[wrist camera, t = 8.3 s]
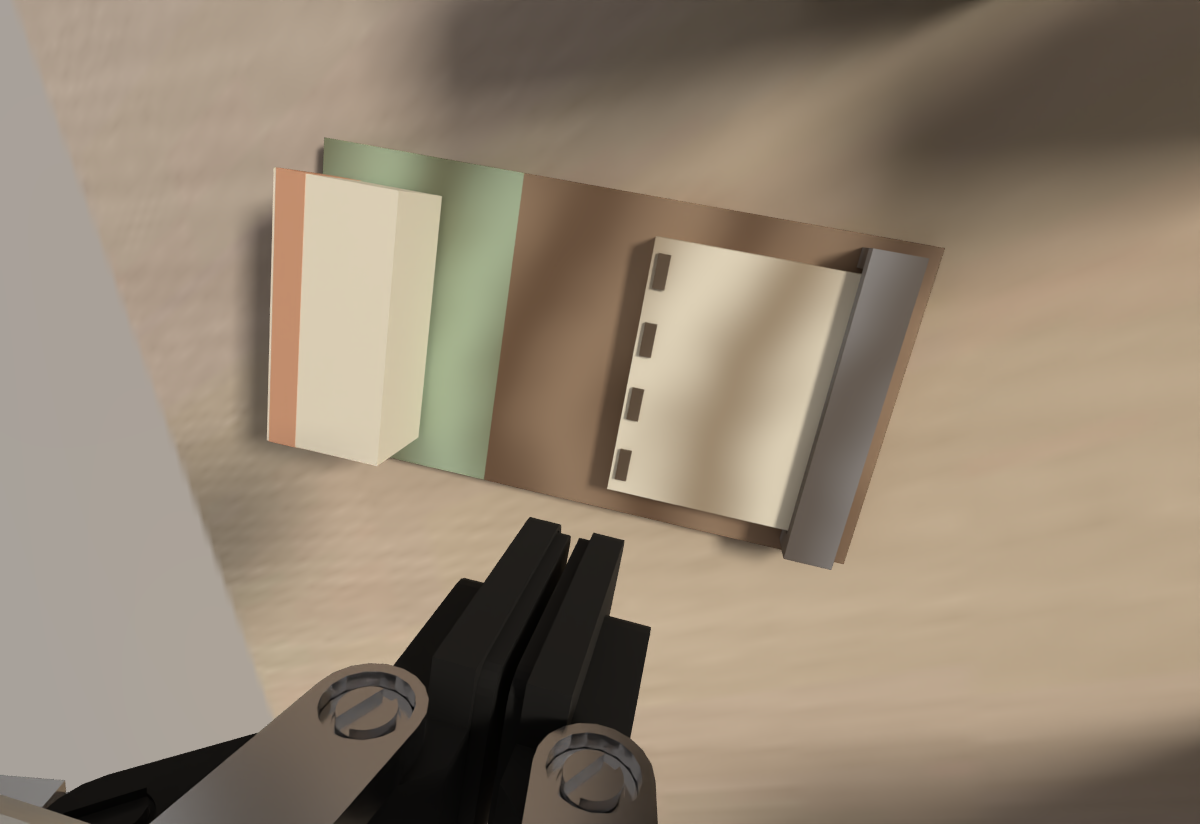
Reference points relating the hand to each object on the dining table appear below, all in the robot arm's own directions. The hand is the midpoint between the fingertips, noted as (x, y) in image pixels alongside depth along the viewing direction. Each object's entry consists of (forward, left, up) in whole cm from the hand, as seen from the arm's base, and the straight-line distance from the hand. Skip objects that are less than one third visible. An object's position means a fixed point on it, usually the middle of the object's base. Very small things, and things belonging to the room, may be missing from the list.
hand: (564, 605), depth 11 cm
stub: (+13, 0, -18) cm, 22 cm away
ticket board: (+3, 0, -19) cm, 20 cm away
